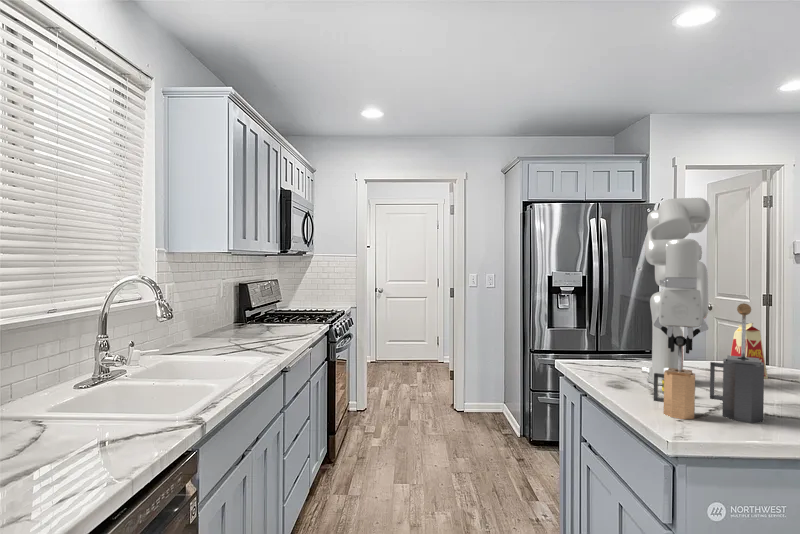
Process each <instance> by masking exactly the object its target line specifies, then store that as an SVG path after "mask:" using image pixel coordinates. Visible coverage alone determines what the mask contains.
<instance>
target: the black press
mask: <svg viewBox="0 0 800 534" xmlns="http://www.w3.org/2000/svg"><path fill="white" fill-rule="evenodd" d="M722 360H723V361H722V362H713V361H710V363H709V364H710V369H709V371H710V372H709V373H710V374H709V399H711V400H717V401H722V412H721V413H722V415H721V417H723V418H726V417H727V418H726V419H729V420H731V419H732V421H734V420H736V422H741V423H748V424H755V423H757V424H759V423H764V403H765V402H764V399H765V397H764V396H765V395H764V394H765V379H764V363H763V362H760V360H759V358H751V357H745V360H744V359H741V357H740V356H731V355H728V354H727V356H726V358H723V359H722ZM716 368H722V395H720V394H715V369H716Z"/></svg>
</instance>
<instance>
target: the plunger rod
mask: <svg viewBox="0 0 800 534" xmlns="http://www.w3.org/2000/svg"><path fill="white" fill-rule="evenodd" d="M736 311H737V313H738V314H739V315H741V325H742V345H741V359H744V360H745V348H746V324H747V316H748V315H750V314H751V312H752V307H751V305H749V304H748V303H745V302H743V303H740V304H738V305H737V308H736Z"/></svg>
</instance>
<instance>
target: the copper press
mask: <svg viewBox="0 0 800 534" xmlns="http://www.w3.org/2000/svg"><path fill="white" fill-rule="evenodd" d="M658 377H661V378H664V396H663V397H659V396H658V395H659V385H658ZM695 400H696V373H694V372H693V370H692V369H684V368H683V369H681V372H680V371H678V369H676V368H669V369H668V370H665V372H664V374H660V373H654V384H653V402H659V403H660V402H662V403H663V415H664V414H665V416H667V415H668V416H667V417H669V416H670V417H669V418H672V417H673V419H678V418H679V419H680V420H694V419H695V410H696V401H695Z"/></svg>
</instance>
